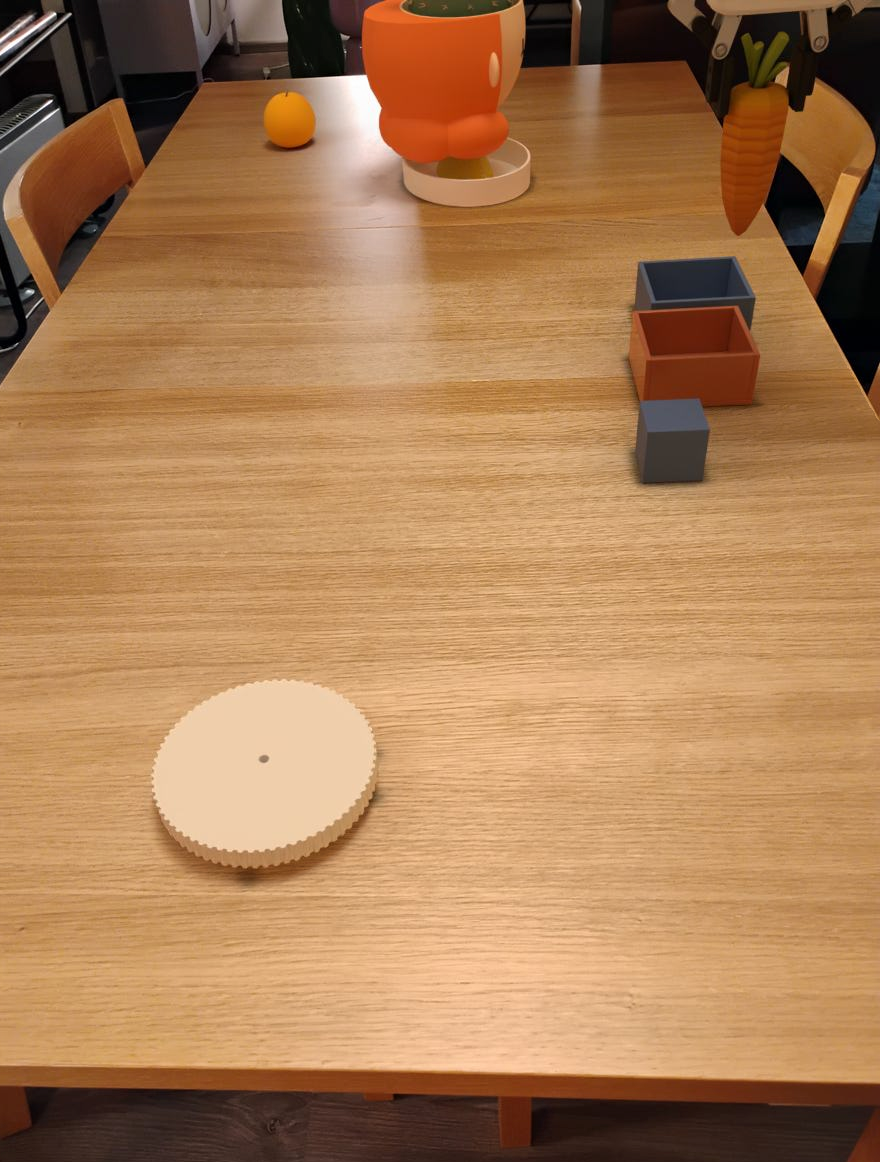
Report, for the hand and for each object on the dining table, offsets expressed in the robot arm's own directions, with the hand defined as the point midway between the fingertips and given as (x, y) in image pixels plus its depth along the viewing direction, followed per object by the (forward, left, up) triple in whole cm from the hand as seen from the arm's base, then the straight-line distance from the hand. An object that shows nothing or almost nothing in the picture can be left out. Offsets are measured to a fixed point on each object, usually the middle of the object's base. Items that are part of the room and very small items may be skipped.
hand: (756, 106), depth 78 cm
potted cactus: (+25, -62, -26) cm, 72 cm away
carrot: (0, 0, -10) cm, 10 cm away
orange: (+50, -84, -26) cm, 101 cm away
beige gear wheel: (+36, +45, -26) cm, 63 cm away
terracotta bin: (+2, -4, -25) cm, 26 cm away
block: (+6, +10, -25) cm, 28 cm away
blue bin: (0, -16, -25) cm, 30 cm away
